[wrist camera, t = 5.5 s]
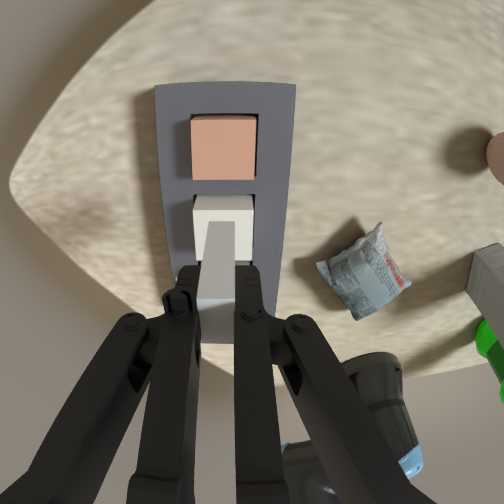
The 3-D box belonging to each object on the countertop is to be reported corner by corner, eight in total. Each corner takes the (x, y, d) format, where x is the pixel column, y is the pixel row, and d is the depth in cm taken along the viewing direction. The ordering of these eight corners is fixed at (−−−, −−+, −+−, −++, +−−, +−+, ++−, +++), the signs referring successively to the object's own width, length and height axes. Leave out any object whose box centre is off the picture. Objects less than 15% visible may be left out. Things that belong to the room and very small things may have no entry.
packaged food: (372, 211, 30) (391, 234, 26) (405, 274, 36) (421, 299, 32) (308, 253, 33) (317, 282, 29) (352, 308, 38) (362, 335, 34)
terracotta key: (251, 165, 26) (253, 179, 23) (198, 165, 26) (192, 180, 22) (253, 113, 23) (256, 119, 20) (197, 113, 23) (190, 120, 20)
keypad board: (272, 299, 36) (274, 319, 33) (182, 299, 36) (179, 319, 33) (289, 83, 23) (296, 84, 20) (163, 84, 22) (153, 85, 19)
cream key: (249, 236, 29) (251, 260, 26) (200, 236, 29) (196, 260, 26) (251, 191, 27) (253, 210, 23) (198, 191, 26) (192, 210, 23)
